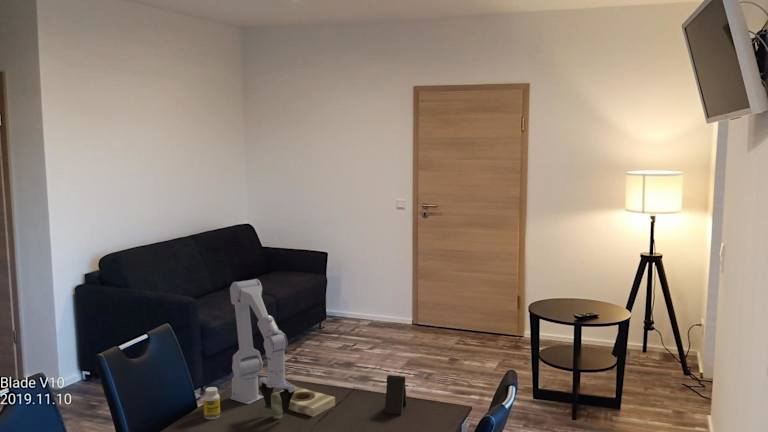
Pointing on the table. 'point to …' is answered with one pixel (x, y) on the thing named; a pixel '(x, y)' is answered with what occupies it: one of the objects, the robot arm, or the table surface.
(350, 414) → the table surface
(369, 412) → the table surface
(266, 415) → the table surface
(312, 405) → the socket board
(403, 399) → the phone stand
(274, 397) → the green peg
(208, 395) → the supplement bottle
